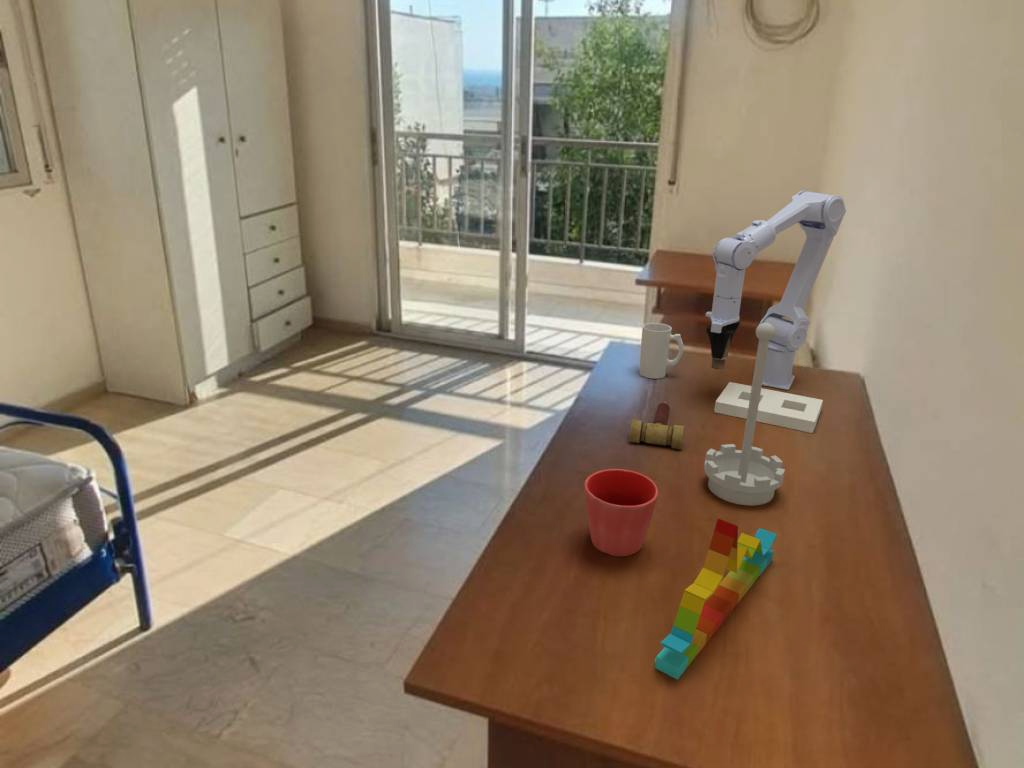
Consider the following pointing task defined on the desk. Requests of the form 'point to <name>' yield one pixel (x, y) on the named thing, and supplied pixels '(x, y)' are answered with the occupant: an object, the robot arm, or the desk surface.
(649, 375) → the mug
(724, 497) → the flag stand
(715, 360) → the peg
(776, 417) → the board
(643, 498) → the flower pot
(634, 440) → the gavel
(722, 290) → the robot arm
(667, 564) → the desk surface
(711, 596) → the chart
